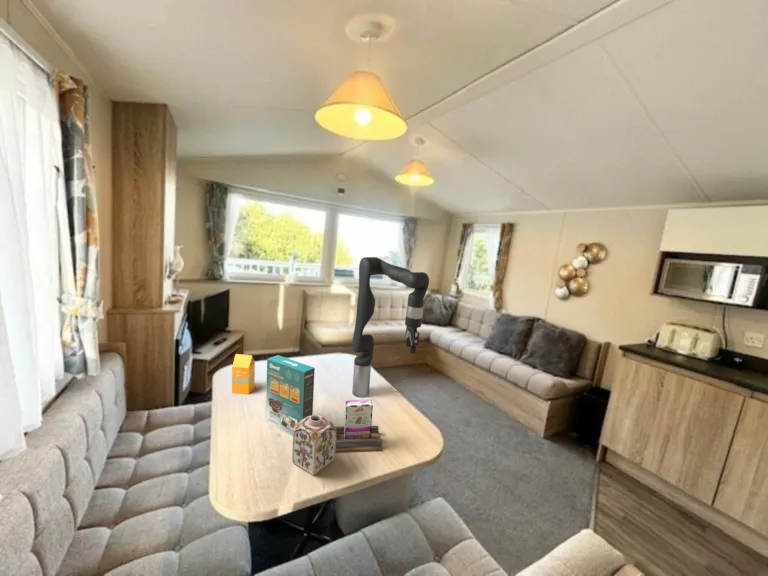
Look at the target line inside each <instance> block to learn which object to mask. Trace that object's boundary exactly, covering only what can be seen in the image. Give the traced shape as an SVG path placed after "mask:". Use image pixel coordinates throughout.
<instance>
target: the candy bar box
mask: <svg viewBox="0 0 768 576" xmlns="http://www.w3.org/2000/svg"><path fill="white" fill-rule="evenodd" d="M344 405H345V407H344V408H345V410H344V425H343V426H344V440H348V439H371V426H373V425H372V422H373V409H374V408H373V407H374V406H373V402H372V399H357V400H356V399H354V400H351V399H350V400H345V404H344Z"/></svg>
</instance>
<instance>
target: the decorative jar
mask: <svg viewBox="0 0 768 576" xmlns="http://www.w3.org/2000/svg"><path fill="white" fill-rule="evenodd" d="M335 427H336V425H334V424H333V422H332V420H331V419H329V418H327V417H326V416H323V415H319V414H313V415H312V416H308V417H306V418H304V419H303V420H301V421H300V423H299V424H298V425H297V426H296V428H295V429H294V431H293V436H292V452H291V454H292V455H291V456H292V457H291V458H292V459H291V463H293V464H295V465H296V466H297V467H298V468H301V470H304V471H305V472H307V473H308V474H310V475H312V476H316V474H318V473H319V472H320V471H321V470H324V468H326V467H327V466H328V465H330V464H331V463H332V462H334V461H335V460H336V459H335V458H336V452H335V448H336V428H335Z"/></svg>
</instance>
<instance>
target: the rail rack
mask: <svg viewBox="0 0 768 576" xmlns="http://www.w3.org/2000/svg"><path fill="white" fill-rule="evenodd" d="M379 427H380V426H379V425H372V426H371V439H348V440H344V425H343V426H340V425H339V426H335V428H336V448H335V453H353V452H354V453H355V452H356V453H357V452H379V451H380V452H382V451H383V447H382V443H383V439H382V438H381V437H380V435H379Z"/></svg>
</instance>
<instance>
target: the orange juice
mask: <svg viewBox="0 0 768 576" xmlns="http://www.w3.org/2000/svg"><path fill="white" fill-rule="evenodd" d="M255 366H256V362H255V359H254V357H253V355H252V354H243V353H235V355H234V358H233V364H232V366H231V394H241V395H250V394H251V392H253V391H254V389H255V376H256V371H255V368H256V367H255Z"/></svg>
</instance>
